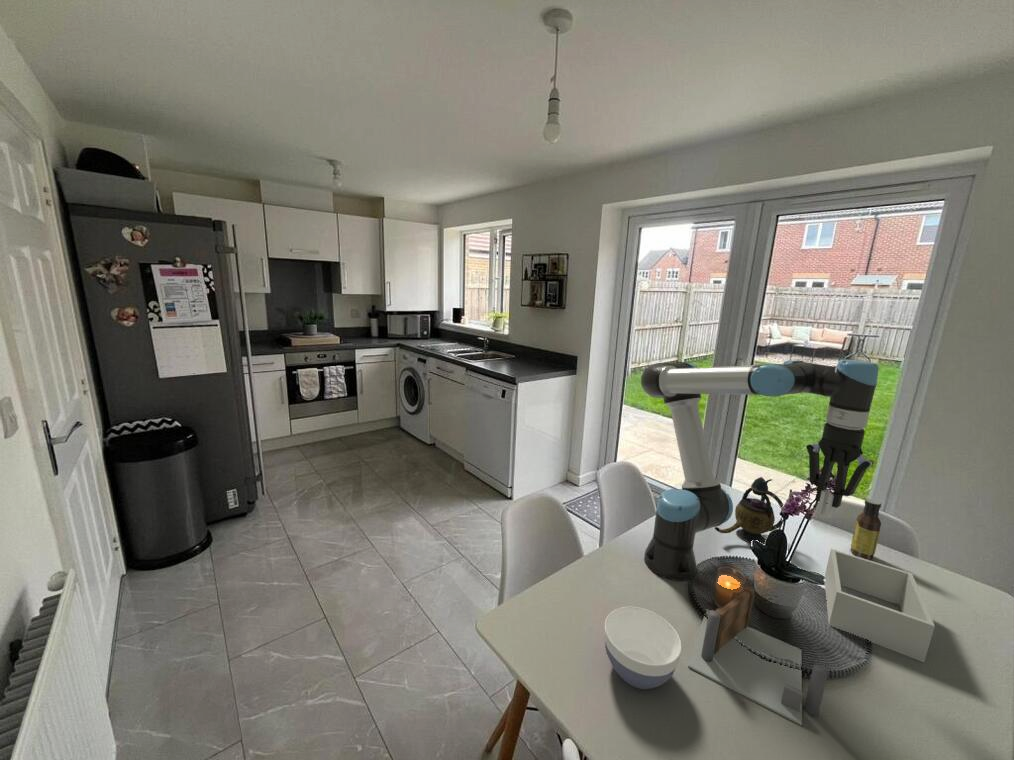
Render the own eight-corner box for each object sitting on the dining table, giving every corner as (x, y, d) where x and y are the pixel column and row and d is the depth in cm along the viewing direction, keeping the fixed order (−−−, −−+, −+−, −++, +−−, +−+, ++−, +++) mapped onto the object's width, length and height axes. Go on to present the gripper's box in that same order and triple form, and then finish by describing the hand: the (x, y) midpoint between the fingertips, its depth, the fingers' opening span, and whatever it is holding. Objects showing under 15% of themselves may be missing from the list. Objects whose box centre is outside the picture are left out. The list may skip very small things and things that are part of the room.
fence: (688, 667, 92) (695, 621, 90) (706, 610, 110) (712, 570, 108) (819, 734, 79) (832, 683, 77) (815, 657, 97) (825, 613, 94)
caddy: (828, 625, 107) (836, 591, 105) (824, 577, 126) (830, 548, 124) (924, 662, 97) (934, 626, 95) (903, 604, 116) (911, 573, 114)
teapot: (784, 543, 144) (797, 482, 139) (728, 553, 136) (739, 488, 132) (755, 525, 155) (765, 468, 150) (701, 533, 147) (711, 473, 143)
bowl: (667, 720, 80) (674, 680, 78) (590, 678, 88) (594, 640, 86) (681, 662, 93) (687, 626, 91) (613, 630, 101) (617, 596, 100)
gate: (714, 653, 95) (721, 615, 93) (708, 648, 96) (715, 610, 94) (748, 625, 104) (755, 589, 102) (742, 621, 105) (748, 585, 103)
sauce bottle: (858, 548, 143) (871, 496, 139) (878, 559, 137) (892, 505, 133) (844, 550, 142) (857, 497, 138) (863, 561, 136) (877, 506, 132)
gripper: (804, 418, 101) (786, 506, 106) (875, 436, 90) (851, 533, 94) (819, 415, 105) (801, 500, 110) (889, 432, 93) (865, 526, 98)
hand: (824, 515), depth 102 cm, fingers closed
